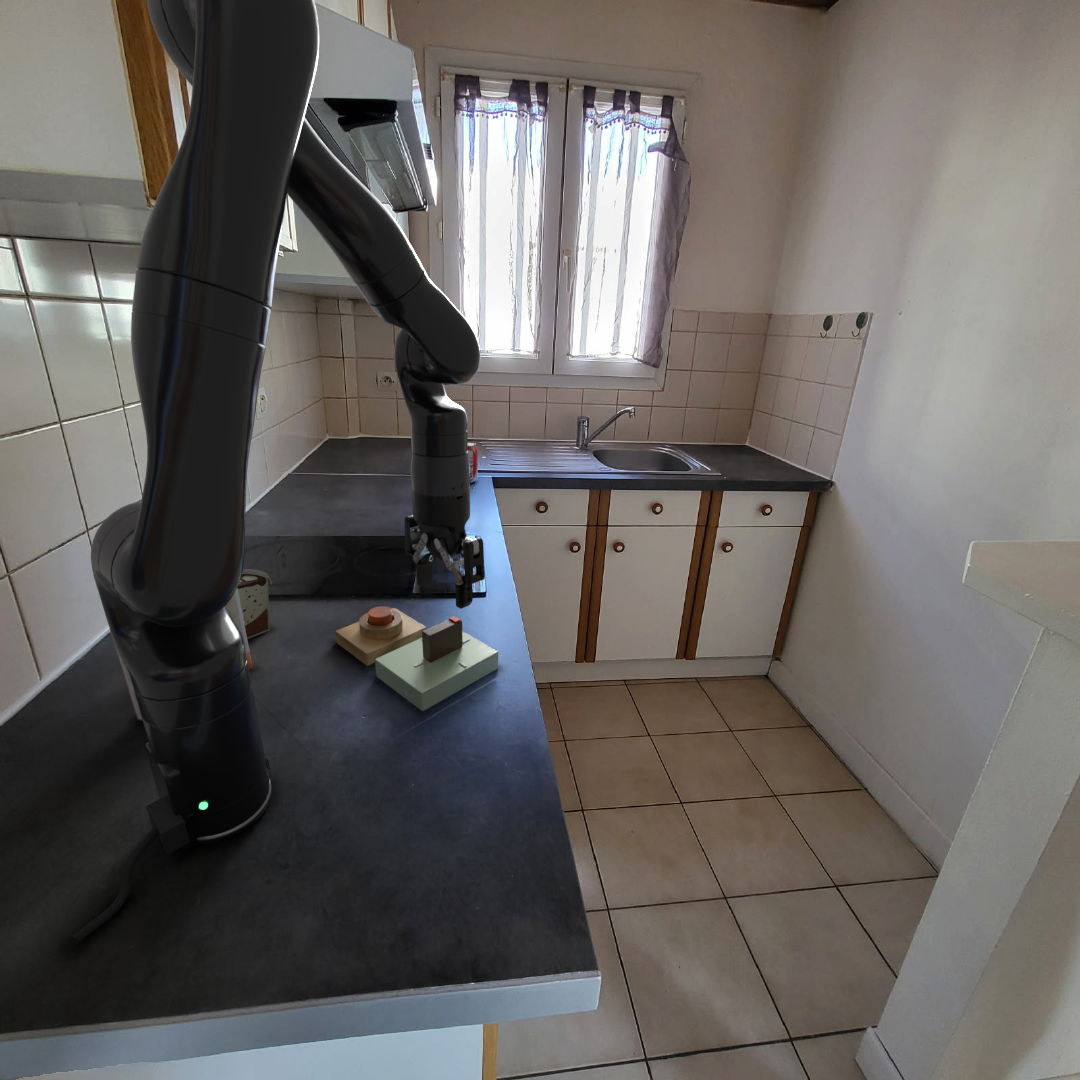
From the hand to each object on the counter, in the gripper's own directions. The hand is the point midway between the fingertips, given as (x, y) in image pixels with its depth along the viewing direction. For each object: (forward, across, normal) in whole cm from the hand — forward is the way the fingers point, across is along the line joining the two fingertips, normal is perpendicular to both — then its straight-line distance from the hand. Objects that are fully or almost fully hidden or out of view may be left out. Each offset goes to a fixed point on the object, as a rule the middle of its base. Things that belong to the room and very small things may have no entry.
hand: (443, 595), depth 79 cm
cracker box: (+12, -19, -27) cm, 36 cm away
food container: (+12, -31, -18) cm, 38 cm away
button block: (+12, -13, -2) cm, 18 cm away
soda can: (+13, -74, +69) cm, 102 cm away
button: (+9, -13, -2) cm, 16 cm away
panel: (+12, 0, -1) cm, 12 cm away
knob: (+9, 0, 0) cm, 9 cm away
